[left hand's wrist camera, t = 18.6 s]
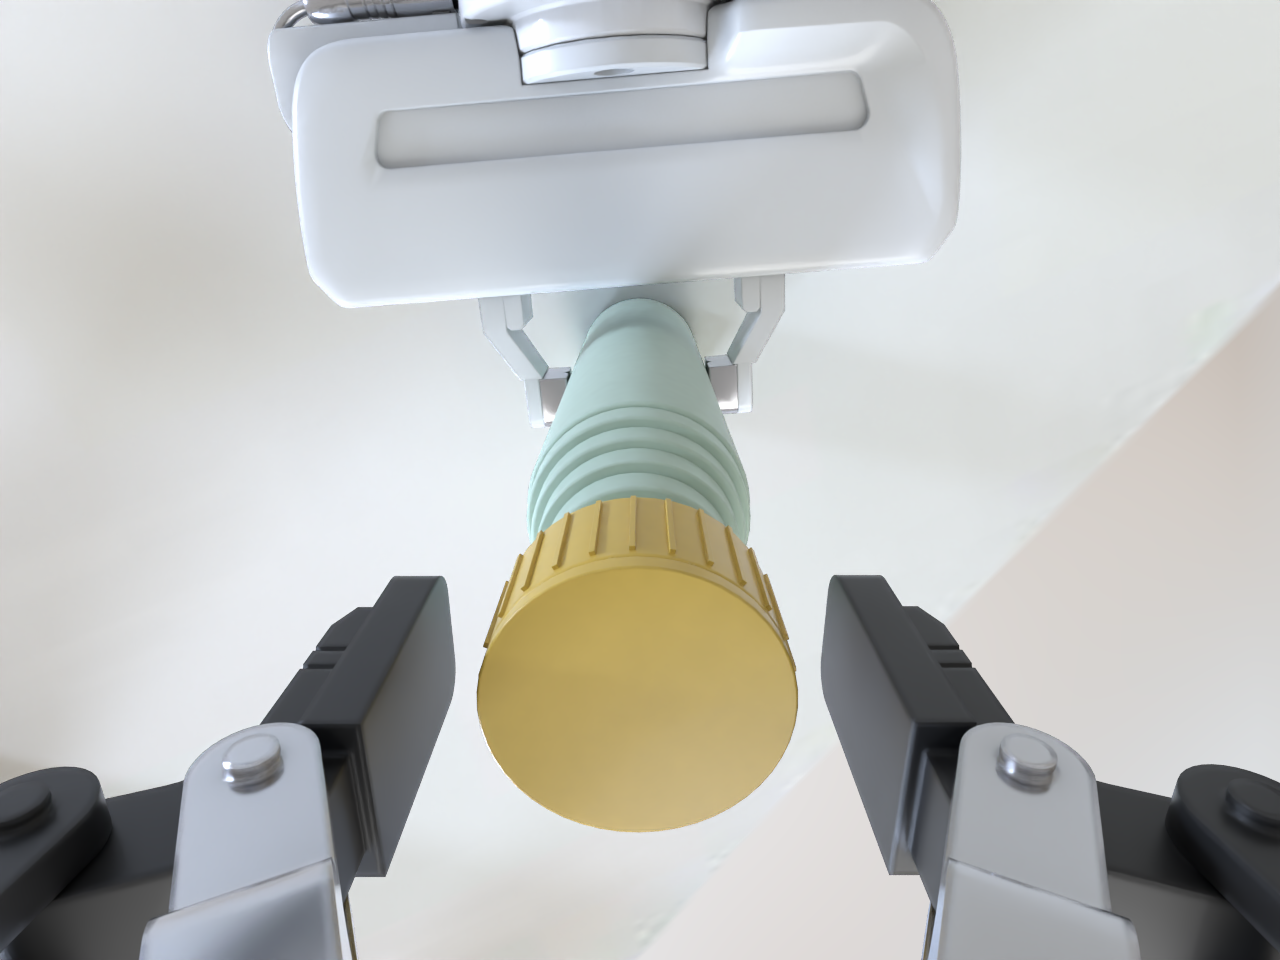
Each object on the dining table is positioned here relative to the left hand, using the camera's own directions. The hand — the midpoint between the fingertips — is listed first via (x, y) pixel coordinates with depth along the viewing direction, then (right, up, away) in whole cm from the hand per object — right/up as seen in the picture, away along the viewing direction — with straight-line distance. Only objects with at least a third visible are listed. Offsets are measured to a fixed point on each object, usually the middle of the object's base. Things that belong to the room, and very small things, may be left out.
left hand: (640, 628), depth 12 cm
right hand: (0, +5, +15) cm, 15 cm away
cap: (0, -1, -2) cm, 2 cm away
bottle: (0, +8, +20) cm, 22 cm away
